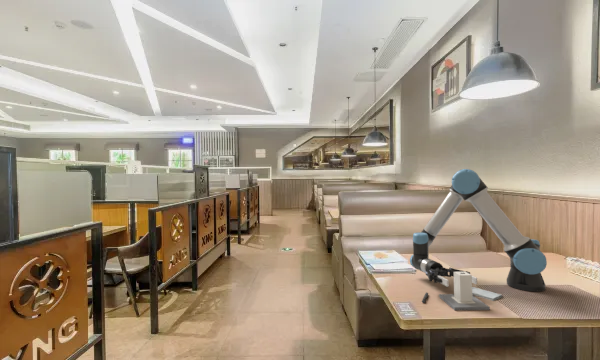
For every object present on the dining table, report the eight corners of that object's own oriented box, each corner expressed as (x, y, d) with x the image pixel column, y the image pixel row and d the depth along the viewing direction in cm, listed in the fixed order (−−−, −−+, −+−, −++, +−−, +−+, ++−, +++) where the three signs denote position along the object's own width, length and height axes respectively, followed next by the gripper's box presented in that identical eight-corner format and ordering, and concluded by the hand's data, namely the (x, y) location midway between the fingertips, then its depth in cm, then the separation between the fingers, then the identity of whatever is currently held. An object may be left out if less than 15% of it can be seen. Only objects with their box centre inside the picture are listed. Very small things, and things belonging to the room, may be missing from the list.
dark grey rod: (425, 294, 137) (425, 292, 137) (428, 295, 137) (428, 292, 137) (421, 303, 128) (421, 300, 128) (424, 303, 128) (424, 300, 128)
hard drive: (502, 294, 133) (473, 286, 144) (493, 298, 129) (464, 290, 139) (502, 298, 133) (473, 289, 144) (493, 302, 129) (464, 293, 139)
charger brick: (465, 296, 130) (464, 271, 130) (472, 301, 125) (471, 274, 125) (454, 297, 130) (453, 271, 130) (460, 301, 125) (459, 274, 125)
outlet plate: (470, 296, 134) (470, 293, 134) (489, 309, 120) (489, 305, 120) (439, 296, 135) (439, 293, 135) (454, 310, 121) (454, 306, 121)
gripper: (454, 274, 150) (488, 288, 130) (409, 277, 146) (435, 293, 125) (454, 259, 151) (487, 271, 130) (408, 262, 146) (435, 275, 125)
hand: (462, 282), depth 127 cm, fingers open, 13 cm apart
